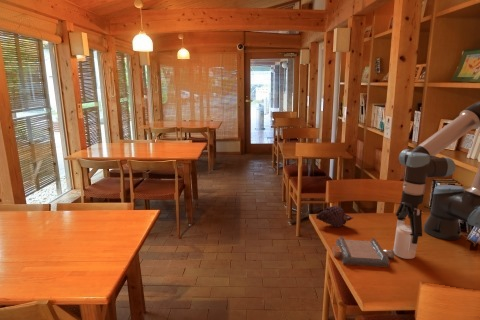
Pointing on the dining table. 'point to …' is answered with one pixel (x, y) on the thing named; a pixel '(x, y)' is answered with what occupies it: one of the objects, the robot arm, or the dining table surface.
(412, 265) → the dining table surface
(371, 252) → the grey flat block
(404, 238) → the beverage can
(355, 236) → the dining table surface
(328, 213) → the pine cone
